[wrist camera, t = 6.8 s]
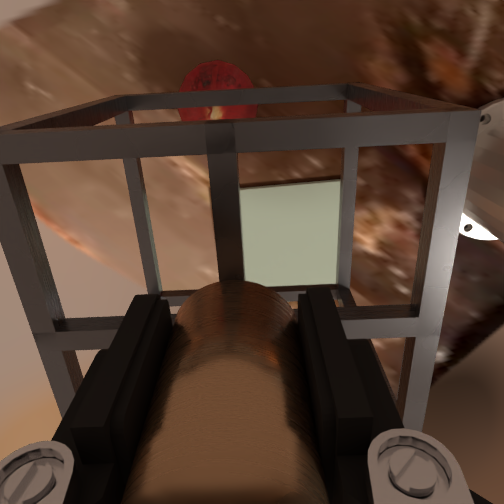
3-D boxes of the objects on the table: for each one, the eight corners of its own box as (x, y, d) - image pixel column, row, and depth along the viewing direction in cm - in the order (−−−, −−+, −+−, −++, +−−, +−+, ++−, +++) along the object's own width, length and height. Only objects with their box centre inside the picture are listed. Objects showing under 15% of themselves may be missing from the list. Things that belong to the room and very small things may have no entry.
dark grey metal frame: (359, 82, 17) (781, 178, 3) (346, 292, 22) (507, 694, 8) (115, 95, 17) (-390, 233, 4) (153, 301, 22) (-12, 704, 8)
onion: (176, 69, 32) (156, 72, 25) (248, 53, 31) (249, 51, 24) (195, 142, 34) (182, 165, 27) (262, 129, 34) (266, 148, 27)
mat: (348, 178, 36) (349, 180, 35) (346, 293, 41) (347, 296, 41) (213, 190, 36) (213, 192, 36) (228, 303, 41) (228, 306, 41)
